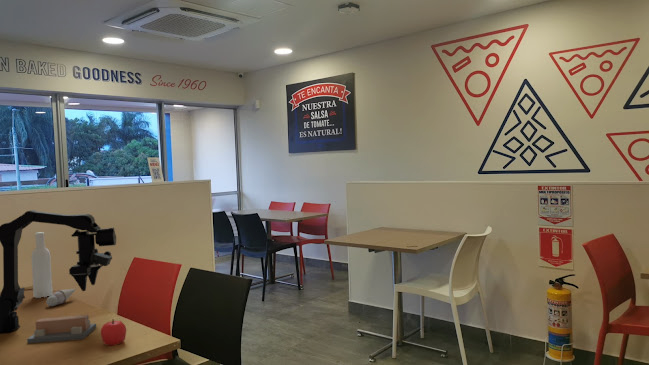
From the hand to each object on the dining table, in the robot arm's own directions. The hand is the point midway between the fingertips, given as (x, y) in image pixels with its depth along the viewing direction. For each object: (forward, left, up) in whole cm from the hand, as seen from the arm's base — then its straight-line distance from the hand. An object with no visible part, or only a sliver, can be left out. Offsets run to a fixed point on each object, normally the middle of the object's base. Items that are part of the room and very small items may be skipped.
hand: (88, 287), depth 179 cm
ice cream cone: (-23, +31, -13) cm, 41 cm away
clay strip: (-4, -14, -12) cm, 19 cm away
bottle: (-38, +46, -13) cm, 61 cm away
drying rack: (-4, -14, -13) cm, 20 cm away
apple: (+17, -26, -13) cm, 34 cm away
